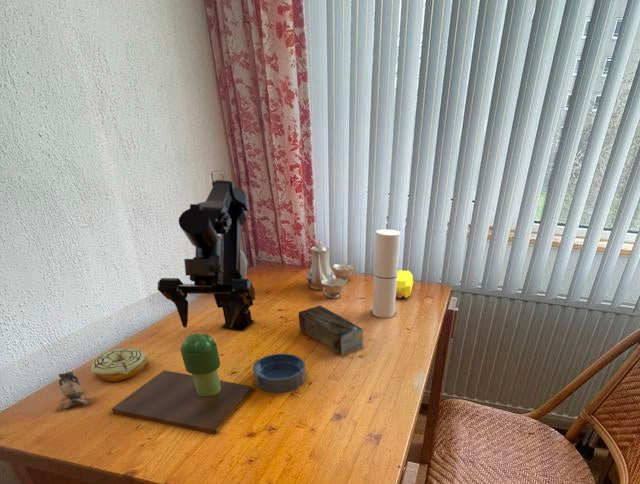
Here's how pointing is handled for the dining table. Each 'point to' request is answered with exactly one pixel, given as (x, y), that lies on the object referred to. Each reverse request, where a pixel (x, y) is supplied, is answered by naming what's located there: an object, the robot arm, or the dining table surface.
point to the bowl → (279, 373)
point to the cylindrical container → (385, 272)
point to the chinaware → (327, 272)
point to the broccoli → (202, 363)
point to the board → (182, 402)
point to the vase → (71, 389)
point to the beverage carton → (331, 329)
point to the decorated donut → (118, 364)
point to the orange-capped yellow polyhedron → (404, 284)
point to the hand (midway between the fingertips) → (207, 326)
